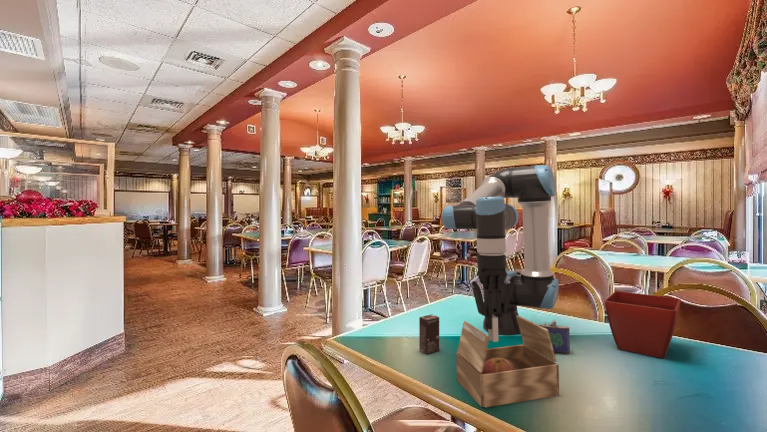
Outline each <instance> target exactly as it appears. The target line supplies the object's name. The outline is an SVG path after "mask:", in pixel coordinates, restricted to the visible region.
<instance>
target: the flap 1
mask: <svg viewBox="0 0 767 432" xmlns="http://www.w3.org/2000/svg"><path fill="white" fill-rule="evenodd" d="M461 329H462V330H461V333H460V338H459V342H458V346H457V351H456V353H459V354H460V355H461V356H463V357H464V358H465V359H466V360H467V361H468V362H469V363H470V364H471V365H473V366H474V367H475V368H476V369H477V370H478V371H479V372H482V370H483V366H484V361H485V356H486V352H487V349H488V346H489V341H490V340H489V338H490V337H489V336H488V334H486V333H484V332H483V331H482V330H480V329H479V328H477V327H475V325H473V324H471V323H469V322H468V321H466V320H464V321H463V324H462V328H461Z"/></svg>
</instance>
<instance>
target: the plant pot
mask: <svg viewBox="0 0 767 432" xmlns="http://www.w3.org/2000/svg"><path fill="white" fill-rule="evenodd" d="M681 301H682V300H681V298H678V297H670V296H660V295H652V294H643V293H637V292H628V291H627V292H626V291H621V290H620V291H619V290H617V291H614V292H613V293H611V295H609V296H608V297H607V298H606V299H604V305H605V312H606V316H607V321H608V324H609V329H610V332H611V334H612V336H613V340H614V343H615V345H616V348H617V349H619V350H623V351H628V352H632V353H635V354H642V355H646V356H651V357H655V358H659V359H664V358H665V357H666V355H667V353H668V350H669V347H670V344H671V342H672V339H673V335H674V332H675V329H676V326H677V322H678V317H679V312H680V307H681Z"/></svg>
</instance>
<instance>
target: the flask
mask: <svg viewBox="0 0 767 432" xmlns="http://www.w3.org/2000/svg"><path fill="white" fill-rule="evenodd" d="M557 322H558V321H557V320H552V323H546V322H544V323H541V324H540V323H539V326H542V327H544V328H546V329H548V332H549V335H550V339H551V343H552V347H553V350H554V354H557V355H559V354H560V355H570V353H571V346H570V345H571V343H570V340H571V339H570V327H569V326H568V325H558V324H557Z"/></svg>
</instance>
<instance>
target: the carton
mask: <svg viewBox="0 0 767 432" xmlns="http://www.w3.org/2000/svg"><path fill="white" fill-rule="evenodd" d="M455 353H456V354H455V358H456V359H455V360H456V362H455V364H456V381H457V382H458V384H459V385H461V387H463V389H464V390H465V391H466V392H467V393H468V394H469V395H470V396H471V397H472V399H473V400H474V401H475V402H476V403H477V404H478V405H479V406H480V407H481V408H482V407H485V408H490V407H495V406H502V405H507V404H515V403H519V402H526V401H533V400H540V399H545V398H551V397H557V396H560V375H559V374H560V369H559V367H560V366H559V365H560V364H558V363H556V362H553V361H551V360H550V359H548V358H546V357H545V356H543V355H541V354H540V353H538V352H536V351H535V350H533V349H531V348H530V347H528V346H526V345H524V343H523V344H517V345H516V344H515V345H507V346H500V347H492V348H487V352H486V356H485V361H484V363H485V362H486V361H487V360H489V359H492V358H503V359H506V360H508V361H510V362H511V363H512V364H513V366H514V368H515V370H511V371H504V372H497V373H490V374H482V372H479V371H478V370H477V369H476V368H475V367H474V366H473V365H471V364H470V363H469V362H468V361H467V360H466V359H465V358H464V357H463V356H461V355H460V354H459V353H458V352H455Z"/></svg>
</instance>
